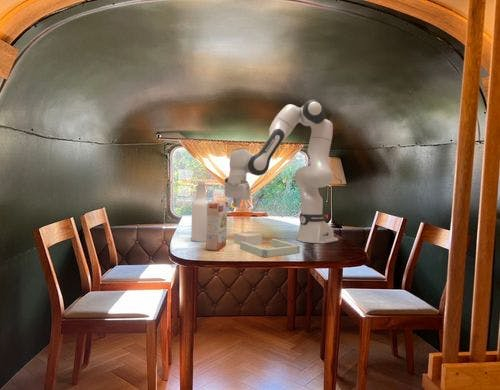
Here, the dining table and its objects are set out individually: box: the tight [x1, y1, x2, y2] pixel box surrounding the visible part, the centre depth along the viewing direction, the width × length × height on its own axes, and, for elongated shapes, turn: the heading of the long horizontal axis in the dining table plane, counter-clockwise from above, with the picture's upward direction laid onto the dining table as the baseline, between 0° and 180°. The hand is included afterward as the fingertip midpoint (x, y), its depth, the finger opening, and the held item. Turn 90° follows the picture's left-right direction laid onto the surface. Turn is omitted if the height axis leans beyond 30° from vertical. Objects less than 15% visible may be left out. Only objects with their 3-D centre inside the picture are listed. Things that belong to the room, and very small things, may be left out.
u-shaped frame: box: [239, 238, 301, 259], centre depth 152 cm, size 19×19×3 cm
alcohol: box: [190, 180, 210, 243], centre depth 170 cm, size 9×9×30 cm
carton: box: [233, 231, 263, 246], centre depth 167 cm, size 10×10×5 cm
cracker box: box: [205, 200, 229, 252], centre depth 155 cm, size 14×6×21 cm, turn 168°
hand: (236, 207), depth 176 cm, fingers closed
